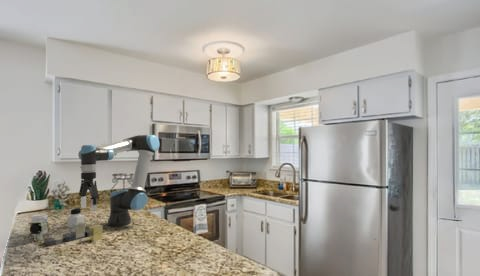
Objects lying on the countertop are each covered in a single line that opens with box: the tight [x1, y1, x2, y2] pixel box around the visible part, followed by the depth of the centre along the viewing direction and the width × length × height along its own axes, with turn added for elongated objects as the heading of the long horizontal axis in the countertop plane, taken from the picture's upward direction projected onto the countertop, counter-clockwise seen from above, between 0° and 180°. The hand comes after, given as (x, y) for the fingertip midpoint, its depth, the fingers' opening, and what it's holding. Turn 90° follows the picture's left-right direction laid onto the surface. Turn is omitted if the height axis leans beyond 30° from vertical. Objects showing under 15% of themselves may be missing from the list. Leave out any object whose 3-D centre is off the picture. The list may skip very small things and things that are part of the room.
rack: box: [43, 228, 89, 247], centre depth 159 cm, size 22×9×3 cm, turn 143°
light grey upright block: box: [71, 222, 86, 240], centre depth 163 cm, size 5×5×8 cm
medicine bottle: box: [66, 207, 85, 229], centre depth 188 cm, size 7×7×12 cm
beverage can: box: [30, 213, 49, 237], centre depth 171 cm, size 8×8×12 cm
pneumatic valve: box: [29, 219, 49, 241], centre depth 160 cm, size 6×12×12 cm, turn 15°
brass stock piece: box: [88, 224, 103, 242], centre depth 158 cm, size 5×5×8 cm
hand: (88, 209), depth 157 cm, fingers open, 13 cm apart
